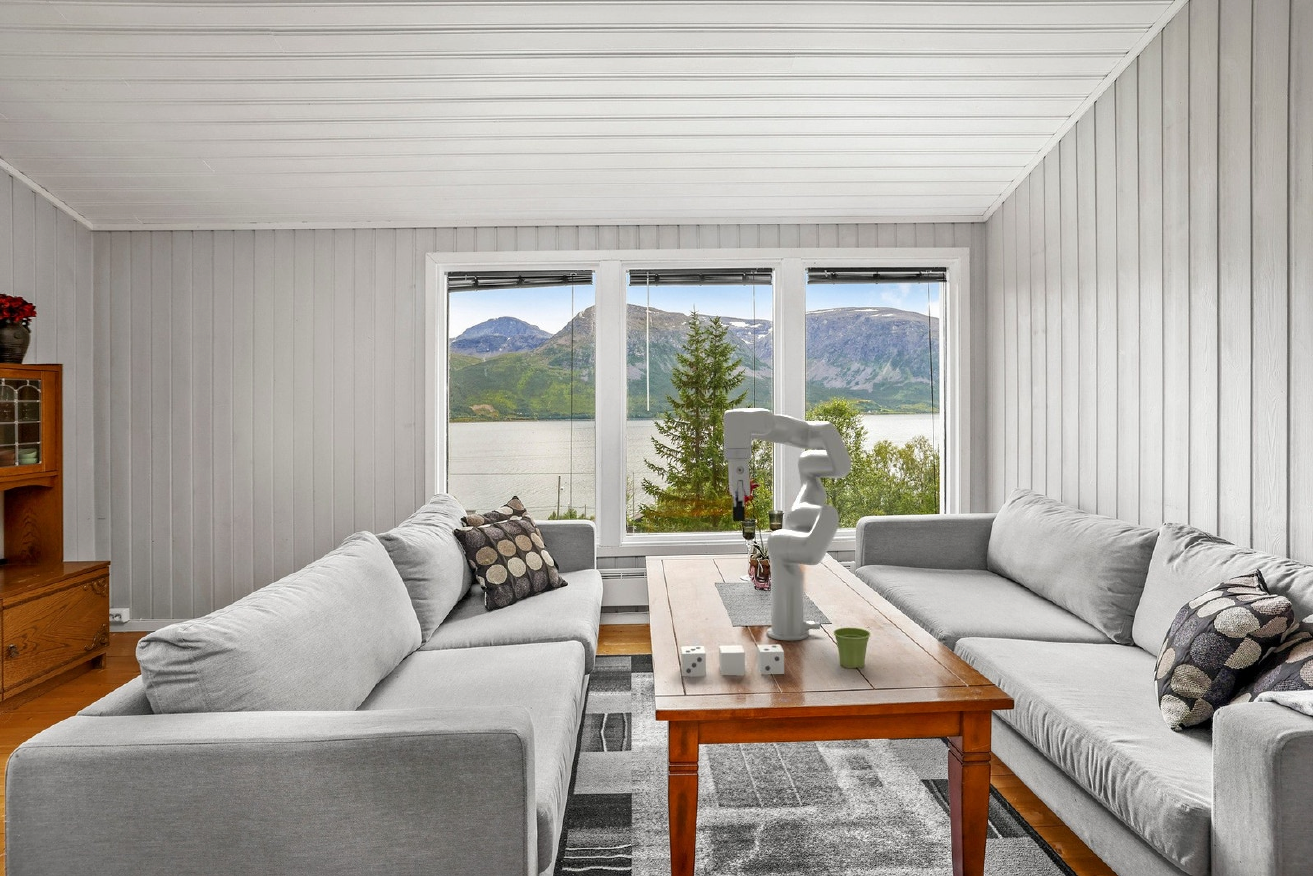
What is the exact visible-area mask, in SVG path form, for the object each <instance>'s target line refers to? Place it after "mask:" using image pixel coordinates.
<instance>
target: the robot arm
mask: <svg viewBox="0 0 1313 876" xmlns="http://www.w3.org/2000/svg"><path fill="white" fill-rule="evenodd" d="M722 420H723V460H724V461H728V463H727V464H728V470H727V471H728V488H729V490H728V491H729V494H730V495H732V521H733V522H745V521H746V511H745V510H746V507H745V496H746V497H750V495H751V483H750V482H751V481H750V480H751V479H750V465H749V461H751V460H752V459H753V458H752V440H753V439H754V440H757V441H763V442H768V443H773V444H779V445H786V446H789V447H793V448H798V449H803V450H805V451H803V452H802V453H801V454H800V455H799V457H798V461H797V469H798V473H799V479H800V480H799V481H800V489H799V492H798V493H797V496H796V498H794V499H795V500H794V501H793V503H792V505H791V506H790V509H789V510H788V513H787V514H786V516H785V517H786V518H785V524H786V526H787V528H788V529H786V528H783V529H777V530H774V531H773V532H771V533H770V534H769V536H768V538H767V541H766V549H767V554H768V559H769V565H770V567H769V568H770V594H771V595H770V600H771V601H770V603H771V605H770V606H771V607H770V609H771V614H770V616H771V617H770V618H771V619H770V620H771V626H770V627H769V628H767V629H766V630H765V633H766V636H767V637H768V638H772V639H774V640H778V641H788V642H789V641H791V642H792V641H802V640H804V639H807V638H808V637H809V636H810V630H820V629H821V623H820V622H814V621H812V620H811V621H806V620H805V618H804V613H805V612H804V605H805V604H804V602H805V601H804V574H803V571H802V568H801V567H800V565H806V566H816V565H818V564H820V563H821V562H822V560H823V559H824V558H825V556H826V554H827V553H828V550H829V548H830V546H831V544H832V542H833V540H834V538H835V535H836V534H837V531H838V529H839V521H840V517H839V513H838V511H837V509H836V508H835V507H834V506H832V505H830V504H826V501H827V497H828V494H827V491H826V489H825V487H824V484H823V482H822V480H821V478H822V479H823V478H825V479H826V478H827V479H843V478H845V477H847V476H848V475H849V474H850V472H851V469H852V460H851V457H850V454H849V452H848V450H847V447H846V445H845V442H844V439H843V438H842V436H841V434H840V433H839V430H838V429H837V427H836V426H835V425H834V424H833V423H832V422H830V421H821V420H820V421H815V420H814V421H810V420H809V421H808V420H804V419H801V418H797V417H793V416H790V415H785V414H773V412H772V411H770V410H769V409H766V408H736V409H728V410H725V411H724V413H723V418H722ZM799 564H800V565H799Z"/></svg>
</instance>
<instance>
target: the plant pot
mask: <svg viewBox="0 0 1313 876" xmlns="http://www.w3.org/2000/svg"><path fill="white" fill-rule="evenodd" d="M833 636H835V640H836V644H837V650H838V657H839V663H840V665H841V666H842V667H844V668H846V669H856V668H859V669H861V668H864V666H865V662H866V653H867V646H868V642H869V638H870V637H871V632H870V631H868V630H867V629H863V628H859V627H858V628H857V627H841V628H837V629H835V630H833Z"/></svg>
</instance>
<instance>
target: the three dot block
mask: <svg viewBox="0 0 1313 876" xmlns="http://www.w3.org/2000/svg"><path fill="white" fill-rule="evenodd" d="M706 656H707V655H706V649H705V646H704V645H695V646H694V645H692V646H691V645H690V646H687V645H686V646H680V665H681V668H680V670H681V669H682V670H681V676H690V677H707V665H706V664H707V662H706V661H707V658H706Z"/></svg>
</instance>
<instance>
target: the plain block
mask: <svg viewBox="0 0 1313 876" xmlns="http://www.w3.org/2000/svg"><path fill="white" fill-rule="evenodd" d="M718 654H719V655H718V659H719V660H718V661H719V662H718V663H719V666H718V668H719V671H721V672H720V674H721V675H737V676H745V675H746V660H745V659H746V655H745V654H746V652H745V649H744V648H743V645H742V644H741V645H731V644H729V645H719V646H718Z"/></svg>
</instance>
